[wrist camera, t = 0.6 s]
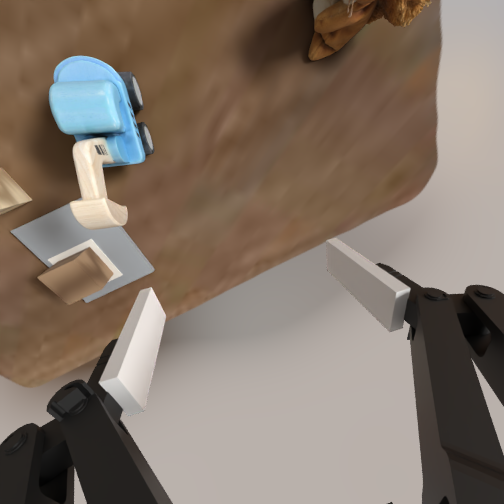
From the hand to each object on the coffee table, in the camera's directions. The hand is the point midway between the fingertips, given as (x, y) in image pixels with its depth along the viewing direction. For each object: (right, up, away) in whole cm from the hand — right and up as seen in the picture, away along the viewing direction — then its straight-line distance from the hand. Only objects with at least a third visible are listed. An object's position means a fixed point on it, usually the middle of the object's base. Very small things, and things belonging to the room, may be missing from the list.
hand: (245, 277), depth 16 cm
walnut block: (-28, -1, +21) cm, 36 cm away
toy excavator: (-19, +18, +16) cm, 31 cm away
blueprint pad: (-28, +2, +21) cm, 35 cm away
